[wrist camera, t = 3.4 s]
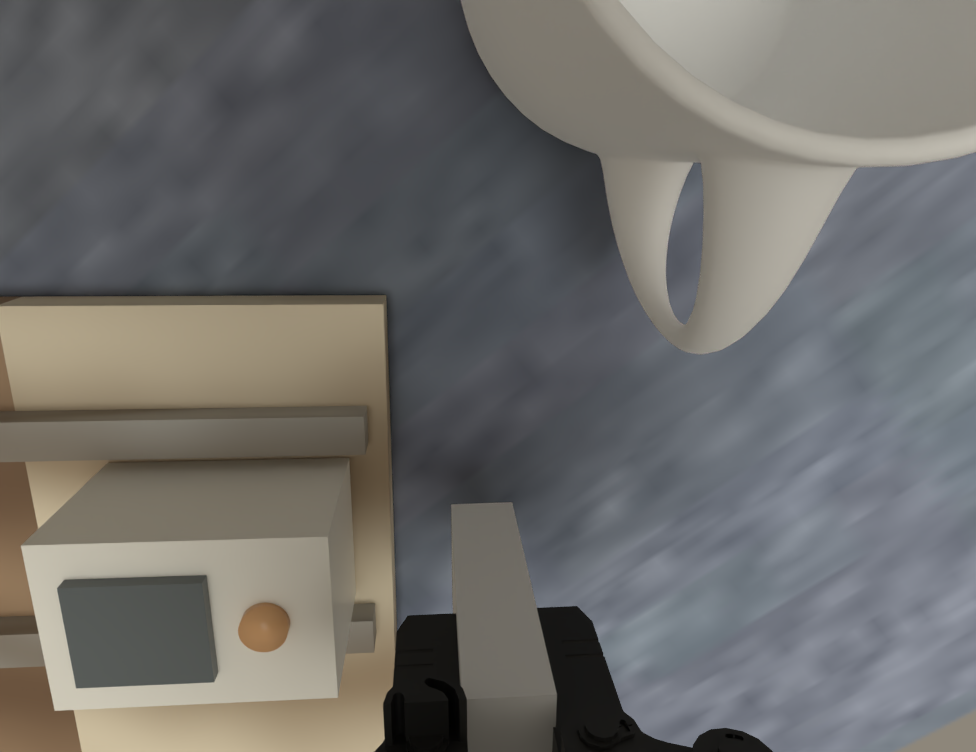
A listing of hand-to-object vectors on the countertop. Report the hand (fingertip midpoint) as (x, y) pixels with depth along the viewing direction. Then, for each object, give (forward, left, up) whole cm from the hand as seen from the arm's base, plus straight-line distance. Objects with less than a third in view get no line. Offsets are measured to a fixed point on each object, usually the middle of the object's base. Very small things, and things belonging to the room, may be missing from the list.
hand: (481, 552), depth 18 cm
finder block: (0, -6, -2) cm, 7 cm away
